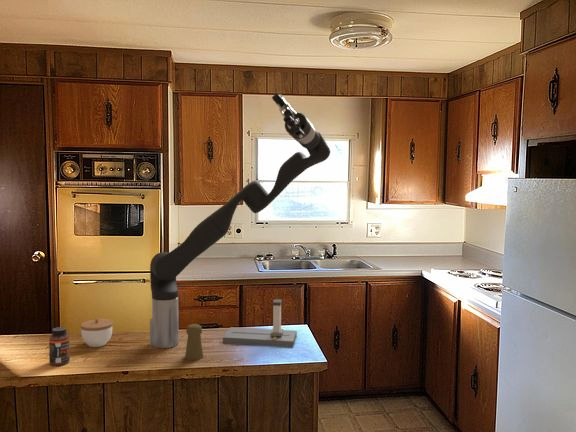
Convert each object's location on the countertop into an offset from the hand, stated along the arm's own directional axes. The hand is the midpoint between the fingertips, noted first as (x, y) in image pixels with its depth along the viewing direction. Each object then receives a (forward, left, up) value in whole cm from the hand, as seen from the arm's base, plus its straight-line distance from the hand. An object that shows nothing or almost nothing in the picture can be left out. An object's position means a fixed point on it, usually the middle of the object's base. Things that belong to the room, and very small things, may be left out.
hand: (280, 106), depth 141 cm
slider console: (-11, +32, -82) cm, 88 cm away
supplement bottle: (-71, -1, -82) cm, 108 cm away
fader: (-5, +32, -79) cm, 86 cm away
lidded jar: (-68, +17, -82) cm, 108 cm away
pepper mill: (-30, +11, -82) cm, 88 cm away
